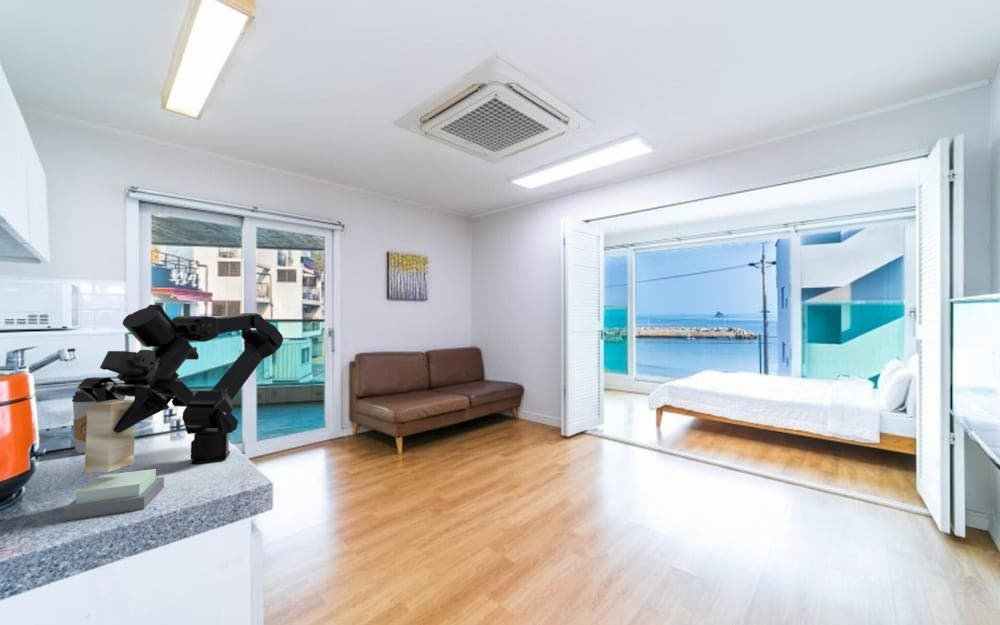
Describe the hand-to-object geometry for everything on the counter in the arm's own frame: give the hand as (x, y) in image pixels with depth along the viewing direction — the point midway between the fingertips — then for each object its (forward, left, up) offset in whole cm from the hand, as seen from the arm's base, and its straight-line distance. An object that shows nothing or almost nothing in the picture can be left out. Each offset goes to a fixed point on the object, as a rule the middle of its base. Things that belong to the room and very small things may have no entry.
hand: (103, 431), depth 70 cm
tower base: (-2, 0, -13) cm, 13 cm away
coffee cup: (+16, -41, -13) cm, 46 cm away
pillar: (-1, -1, -7) cm, 7 cm away
